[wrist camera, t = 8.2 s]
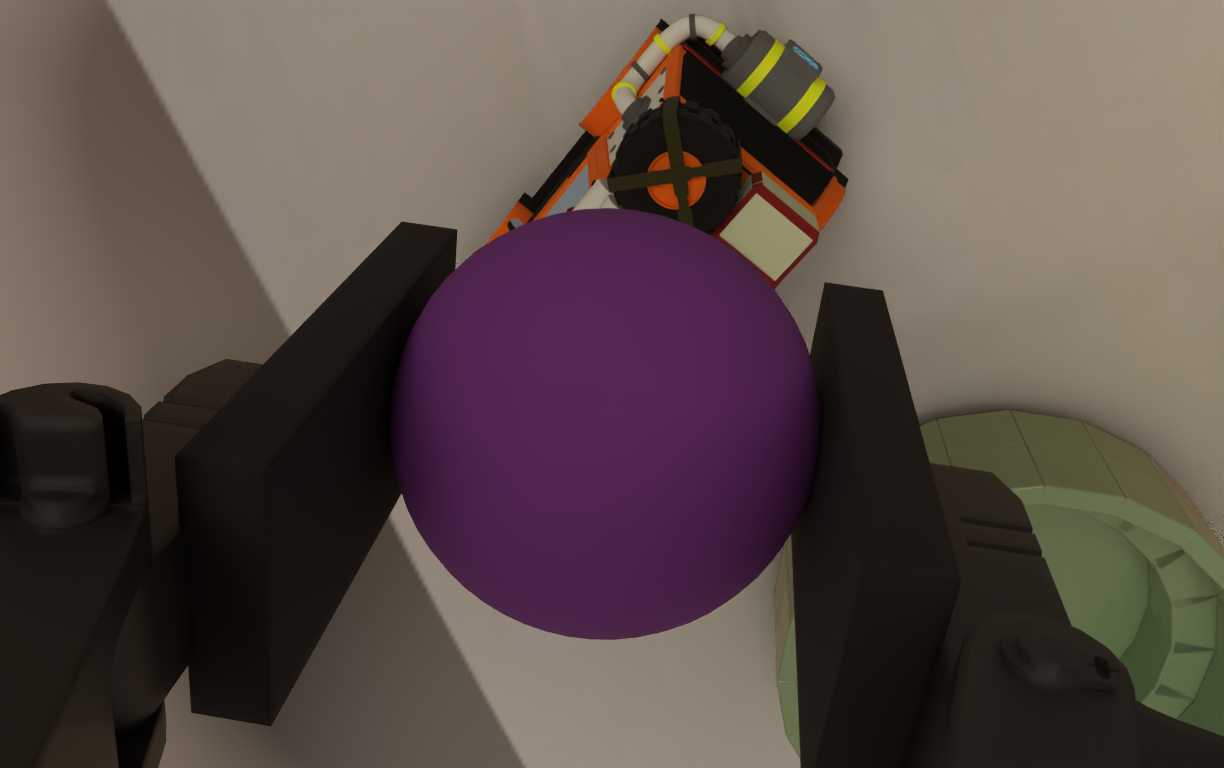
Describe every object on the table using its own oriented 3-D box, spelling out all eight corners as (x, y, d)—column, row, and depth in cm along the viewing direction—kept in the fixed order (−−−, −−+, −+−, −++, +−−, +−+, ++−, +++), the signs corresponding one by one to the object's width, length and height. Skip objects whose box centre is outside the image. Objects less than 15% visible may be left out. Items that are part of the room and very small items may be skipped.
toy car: (896, 106, 30) (947, 200, 23) (633, 418, 35) (598, 585, 27) (691, -56, 29) (669, -19, 21) (448, 289, 34) (356, 424, 26)
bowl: (744, 710, 40) (743, 820, 35) (818, 371, 34) (829, 451, 30) (1126, 774, 39) (1175, 895, 35) (1268, 439, 33) (1348, 532, 29)
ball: (445, 468, 17) (324, 690, 12) (463, 135, 15) (324, 258, 10) (780, 523, 17) (779, 772, 12) (848, 190, 14) (879, 342, 10)
